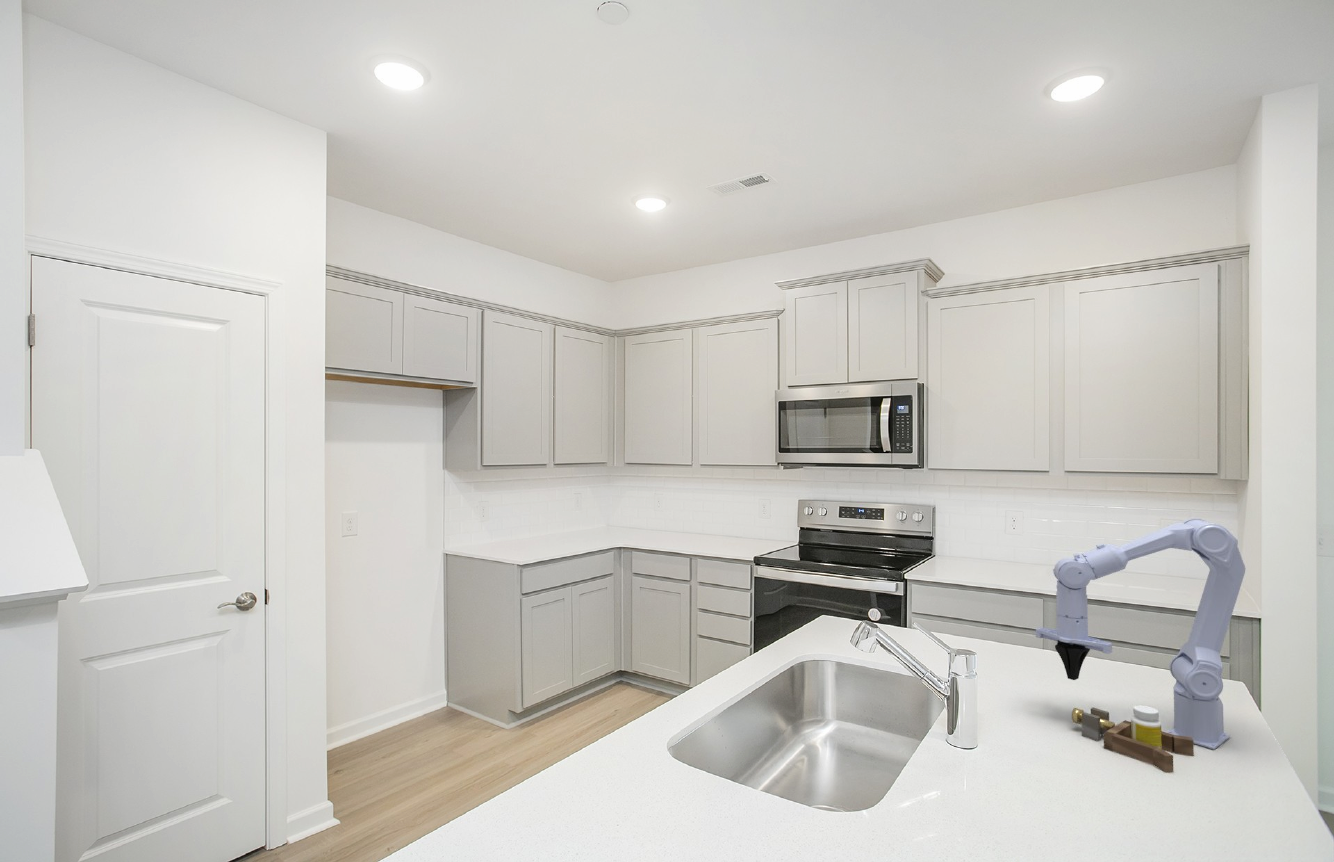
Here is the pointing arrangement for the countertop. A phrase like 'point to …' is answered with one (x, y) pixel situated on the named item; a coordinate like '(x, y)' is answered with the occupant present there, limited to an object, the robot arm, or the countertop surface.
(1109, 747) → the dock
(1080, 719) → the lock pin
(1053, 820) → the countertop surface
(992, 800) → the countertop surface
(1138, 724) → the supplement bottle
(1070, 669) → the robot arm
